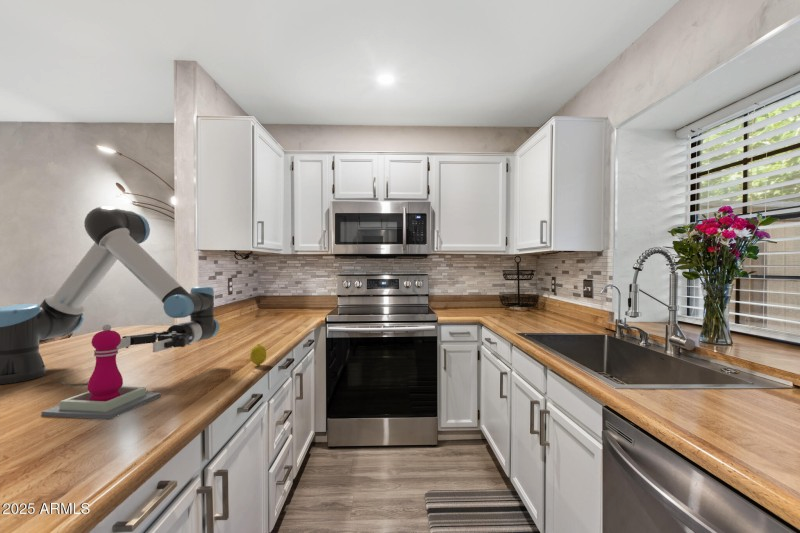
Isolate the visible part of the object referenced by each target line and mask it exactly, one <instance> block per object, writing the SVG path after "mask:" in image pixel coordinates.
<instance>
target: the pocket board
mask: <svg viewBox="0 0 800 533" xmlns="http://www.w3.org/2000/svg"><path fill="white" fill-rule="evenodd" d="M118 391H119V392H120V396H119V397H116V398H113V399H111V400H108V401H90V397H91V396H92V394H91V393H90V392H89V391H88V390H87V391H86V392H82V393H79V394H78V395H74V396H70V397H68V398H66V399H62V400H59V405H56V406H54V407H53V406H52V407H51V408H48V409H45V410H42V411H41V415H40V416H42V417H55V418H59V417H60V418H75V419H76V418H78V419H92V418H93V419H95V420H97V419H98V420H99V419H100V420H112V419H114V418H117V417H118V415H119V416H120V415H123V414H125V413H127V412H129V411H131V410H134V409H136V408H138V407H140V405H141V406H142V404H143V405H144V403H145V404H146V403H149V402H152V401H153V400H155V399H158V398H160V397H161V392H151V391H150V392H148V391H147V387H145V386H127V385H126V386H124V385H122V387H121V388H120V389H119V390H118ZM111 418H112V419H111Z"/></svg>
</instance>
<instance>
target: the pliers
mask: <svg viewBox="0 0 800 533" xmlns="http://www.w3.org/2000/svg"><path fill="white" fill-rule="evenodd" d="M60 383H61V385H64V384H65V386H88V382H86V383H85V382H84V383H71V382H70V383H69V382H64V381H61V382H60Z"/></svg>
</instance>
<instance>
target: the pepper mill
mask: <svg viewBox="0 0 800 533" xmlns="http://www.w3.org/2000/svg"><path fill="white" fill-rule="evenodd" d="M121 339H122V336H121V334H119V332H117V331H115V330H112V326H111V324H104V325H103V326H102V331H99V332H97V333H95V334H94V335H93V336H92V338H91V346H92V348H94V349H95V350H94V351H93V353H94V354H93V356H94V357H95V366H94V370H93V372H91V375H90V378H89V379H88V382H87V383H88V385H87V387H86V389H87V392H88V391H89V392H90V393H91V394H92V396H91V397H90V401H108V400H111V399H113V398H116V397H119V396H120V392H119V391H118V390H119V389H120V388H121V387H122V386H124V385H123V384H124V382H123V381H124V380H123V376H122V374H121V372H120V370H119V368H118V365H117V355H118V354H119V349H118V348H117V346H118V345H119V344H120V342H121Z"/></svg>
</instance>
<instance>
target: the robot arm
mask: <svg viewBox="0 0 800 533" xmlns="http://www.w3.org/2000/svg"><path fill="white" fill-rule="evenodd" d="M83 223H84V229H85V232H86V234H87V235H88V236H89V238H90V239H92V241H93V242H94V243H93V244H92V246H91V247H90V248H89V249H88V251H87V252H86V253H85V255H84V256H83V257H82V259H81V260H80V261H79V263H78V264H77V265H76V266H75V268H74V269H73V271H72V272H71V273H70V274H69V276H68V277H67V278H66V279H65V281H64V282H63V283H62V284H61V286H60V287H59V288H58V290H56V293H55V294H49V295H46V297H45V298H44V300H42V301H41V303H40V304H37V303H18V304H17V303H16V304H10V305H5V306H4V305H2V306H0V385H6V384H14V383H15V384H16V383H20V382H25V381H31V380H34V379H37V378H41V377H43V376H45V375H46V373H47V368H46V365H45V363H44V360H43V357H42V355H41V353H40V341H44V340H48V339H55V338H61V337H65V336H67V335H71V334H72V333H74V332H77V330H78V329H79V328H80V327H81V325H82V323H83V321H84V312H85V308H84V304H85V302H86V301H87V300H88V299H89V297H90V296H91V294H93V292H94V291H95V289H96V288H97V287H98V285H99V284H100V283H101V282H102V280H103V279H104V278H105V276H106V275H107V274H108V272H109V271H110V270H111V268H112V267H113V266H114V265H115V263H116V262H117V260H118V261H119V262H120V263H121V264H122V265H123V266H124V267H125V268H126V269H127V270H128V271H129V272H130V273H132V275H134V277H136V279H138V280H139V281H140V282H141V283H142V284H143V285H144V286H145V287H146V288H147V289H148V290H149V291H150V292H151V293H152V294H154V296H155V297H156V298H157V299H158V300H159V301H160V302H161V303H162V304H163V305H162V306H163V310H164V313H165V314H166V315H167V316H168V317H170V318H173V319H182V318H183V319H185V318H187V317H189V318H190V321H185V322H181V323H176V324H173V325H171V326H169V327H168V329H167V330H163V331H160V332H156V331H153V332H149V333H140V334H135V335H127V336H126V335H124V336H121V342H120V344H119V345H118V346H117V348H118V350H121V349H129V348H130V347H131V346H137V345H145V344H152V353H158V352H161V351H165V350H169V349H173V348H185V347H186V346H191V345H192V344H193V343H196V342H200V341H203V340H208V339H211V338H213V337H214V336H216V335H217V334H218V333H219V332H220V324H219V321H218V320H217V319H216V318H215V317H214V312H215V310H214V309H215V307H214V306H215V304H214V303H215V302H214V301H215V293H214V291H215V290H214V288H213V287H212V286H193V287H191V288H190V292H188V291H187V290H186V289H185V288H184V287H183V286H182V285H181V284H180V283H179V282H178V281H177V280H176V279H175V278H174V277H173V276H172V275H171V274H170V273H169V272H168V271H167V270H165V269H164V268H163V266H161V265H160V263H159V262H157V260H155V258H153V257H152V256H151V254H149V253H148V252H147V251H146V250H145V249H144V248H143V247H142V246H141V244H142V243H144V242H146V241H147V240H148V238H149V236H150V233H151V227H150V223H149V221H148V220H147V219H146V218H145V216H143V215H141V214H139V213H137V212H134V211H132V210H125V209H120V208H116V207H113V206H107V205H106V206H99V207H96V208H94V209H92V210H90V211H89V212H88V213H87V214H86V216H85V218H84V222H83Z"/></svg>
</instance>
